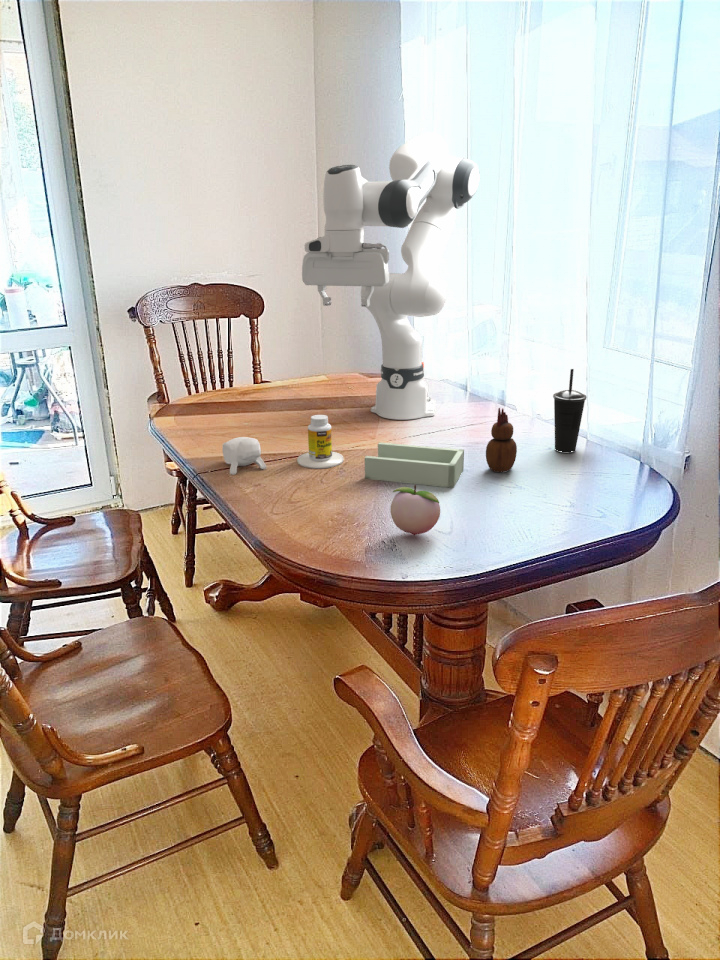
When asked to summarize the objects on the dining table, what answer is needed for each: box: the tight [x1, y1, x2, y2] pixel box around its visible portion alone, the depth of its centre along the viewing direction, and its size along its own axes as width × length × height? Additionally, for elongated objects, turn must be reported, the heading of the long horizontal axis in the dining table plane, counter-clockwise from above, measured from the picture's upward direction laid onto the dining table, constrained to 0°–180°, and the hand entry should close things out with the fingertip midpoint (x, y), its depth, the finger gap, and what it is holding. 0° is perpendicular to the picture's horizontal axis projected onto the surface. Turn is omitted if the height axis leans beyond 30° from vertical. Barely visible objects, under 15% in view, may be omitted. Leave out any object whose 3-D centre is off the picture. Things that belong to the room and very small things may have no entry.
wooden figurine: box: [485, 407, 518, 473], centre depth 164 cm, size 7×6×15 cm
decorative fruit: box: [390, 484, 441, 536], centre depth 134 cm, size 9×8×10 cm
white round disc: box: [297, 451, 344, 470], centre depth 175 cm, size 11×11×1 cm
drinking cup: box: [552, 368, 587, 452], centre depth 175 cm, size 8×8×20 cm
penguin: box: [221, 436, 268, 476], centre depth 170 cm, size 9×8×15 cm
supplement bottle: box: [307, 414, 333, 461], centre depth 173 cm, size 6×6×10 cm
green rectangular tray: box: [364, 442, 465, 489], centre depth 164 cm, size 11×20×5 cm, turn 71°
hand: (346, 305), depth 170 cm, fingers open, 8 cm apart
